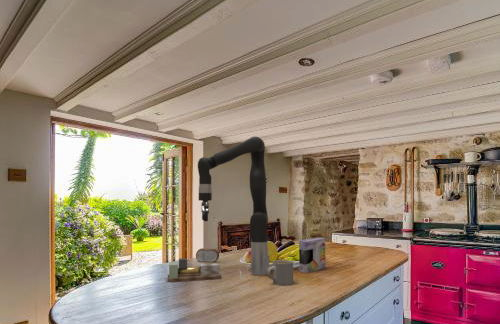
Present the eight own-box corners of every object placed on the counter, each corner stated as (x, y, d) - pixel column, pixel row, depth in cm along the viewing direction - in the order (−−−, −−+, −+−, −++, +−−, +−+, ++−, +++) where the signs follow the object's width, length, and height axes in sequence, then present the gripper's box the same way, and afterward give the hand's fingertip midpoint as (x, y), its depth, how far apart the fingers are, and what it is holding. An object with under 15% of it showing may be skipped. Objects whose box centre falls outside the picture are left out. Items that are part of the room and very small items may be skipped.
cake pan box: (304, 273, 185) (303, 240, 187) (297, 272, 189) (296, 239, 191) (326, 269, 197) (325, 238, 199) (319, 267, 201) (319, 237, 203)
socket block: (177, 274, 177) (177, 261, 178) (177, 278, 170) (177, 264, 170) (168, 275, 176) (169, 262, 177) (169, 278, 169) (169, 265, 169)
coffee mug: (289, 279, 172) (288, 259, 173) (296, 284, 163) (296, 263, 164) (263, 281, 169) (263, 260, 170) (269, 286, 160) (269, 264, 161)
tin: (219, 261, 219) (219, 248, 220) (218, 262, 216) (218, 249, 217) (196, 261, 221) (196, 248, 222) (195, 262, 218) (195, 248, 219)
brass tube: (206, 272, 179) (206, 257, 180) (207, 273, 176) (207, 258, 176) (173, 273, 175) (173, 258, 176) (173, 275, 171) (174, 260, 172)
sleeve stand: (218, 274, 183) (218, 262, 184) (221, 279, 174) (221, 266, 174) (167, 277, 177) (167, 264, 178) (167, 282, 167) (168, 268, 168)
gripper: (213, 192, 190) (213, 221, 189) (210, 192, 204) (209, 219, 203) (199, 192, 189) (199, 221, 187) (197, 192, 202) (197, 220, 201)
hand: (204, 220), depth 195 cm, fingers open, 8 cm apart
